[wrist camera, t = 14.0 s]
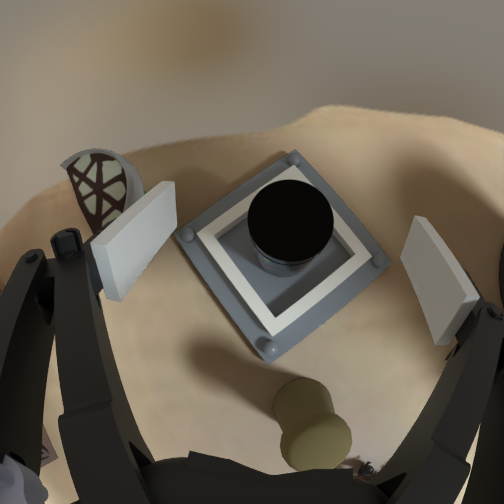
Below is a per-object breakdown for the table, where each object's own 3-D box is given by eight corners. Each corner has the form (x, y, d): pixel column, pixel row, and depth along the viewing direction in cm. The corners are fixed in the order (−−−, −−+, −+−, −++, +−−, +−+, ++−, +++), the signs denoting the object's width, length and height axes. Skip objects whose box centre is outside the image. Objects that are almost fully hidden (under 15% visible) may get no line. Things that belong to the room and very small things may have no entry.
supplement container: (270, 210, 28) (270, 166, 19) (323, 235, 27) (346, 201, 19) (243, 262, 27) (231, 238, 19) (298, 289, 27) (313, 277, 18)
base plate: (386, 265, 28) (398, 260, 25) (267, 362, 27) (267, 368, 24) (294, 156, 31) (296, 141, 28) (177, 237, 30) (168, 229, 27)
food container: (194, 243, 30) (160, 210, 20) (149, 277, 29) (99, 260, 19) (142, 167, 32) (105, 121, 22) (105, 197, 32) (59, 161, 22)
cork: (264, 390, 26) (261, 434, 15) (321, 369, 26) (350, 400, 15) (284, 437, 25) (290, 495, 14) (338, 417, 25) (371, 465, 14)
